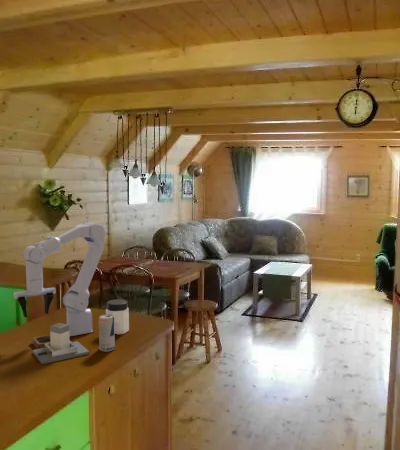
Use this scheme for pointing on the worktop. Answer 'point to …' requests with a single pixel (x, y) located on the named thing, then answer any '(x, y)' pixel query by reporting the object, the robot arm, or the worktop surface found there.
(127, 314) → the jar
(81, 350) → the socket board
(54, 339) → the plug
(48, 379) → the worktop surface
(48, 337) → the brown square tray
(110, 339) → the energy drink
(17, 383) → the worktop surface
